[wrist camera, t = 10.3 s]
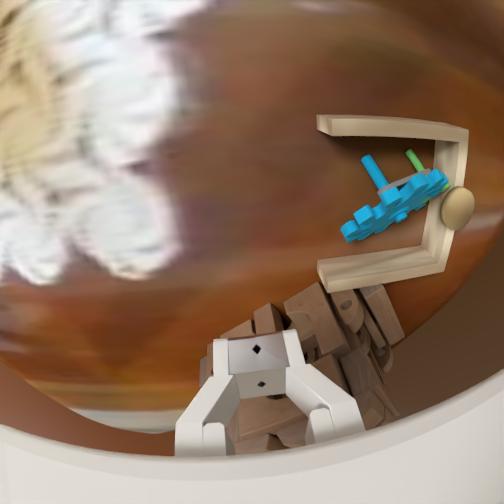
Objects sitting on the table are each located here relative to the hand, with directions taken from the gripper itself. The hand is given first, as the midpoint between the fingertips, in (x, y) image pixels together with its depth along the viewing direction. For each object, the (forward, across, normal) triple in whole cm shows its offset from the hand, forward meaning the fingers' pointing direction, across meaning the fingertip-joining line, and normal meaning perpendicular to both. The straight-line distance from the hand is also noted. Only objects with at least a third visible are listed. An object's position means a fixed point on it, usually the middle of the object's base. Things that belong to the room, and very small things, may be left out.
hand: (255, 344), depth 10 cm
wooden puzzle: (+14, -5, +18) cm, 24 cm away
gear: (+15, -13, +1) cm, 20 cm away
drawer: (+15, -14, +1) cm, 20 cm away
